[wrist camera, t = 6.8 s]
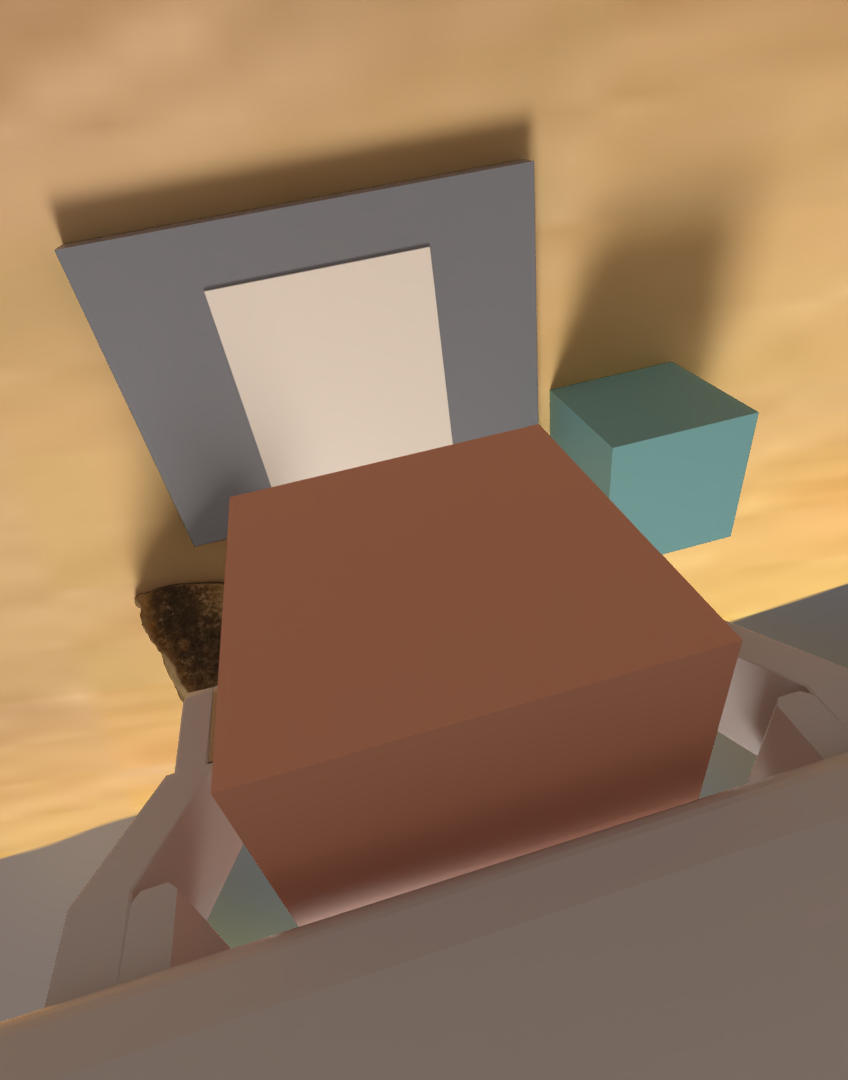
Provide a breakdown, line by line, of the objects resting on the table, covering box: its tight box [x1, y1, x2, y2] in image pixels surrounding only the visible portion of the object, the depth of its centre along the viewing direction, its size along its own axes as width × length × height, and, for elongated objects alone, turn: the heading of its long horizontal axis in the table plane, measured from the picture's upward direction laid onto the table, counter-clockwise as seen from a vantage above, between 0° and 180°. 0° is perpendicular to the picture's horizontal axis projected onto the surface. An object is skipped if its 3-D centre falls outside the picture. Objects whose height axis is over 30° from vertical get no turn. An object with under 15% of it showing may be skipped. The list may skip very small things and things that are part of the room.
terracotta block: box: [211, 424, 743, 927], centre depth 11 cm, size 6×6×6 cm
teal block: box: [550, 362, 759, 554], centre depth 26 cm, size 6×6×6 cm
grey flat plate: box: [55, 159, 538, 547], centre depth 23 cm, size 16×12×1 cm
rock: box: [135, 583, 224, 701], centre depth 29 cm, size 11×9×10 cm
